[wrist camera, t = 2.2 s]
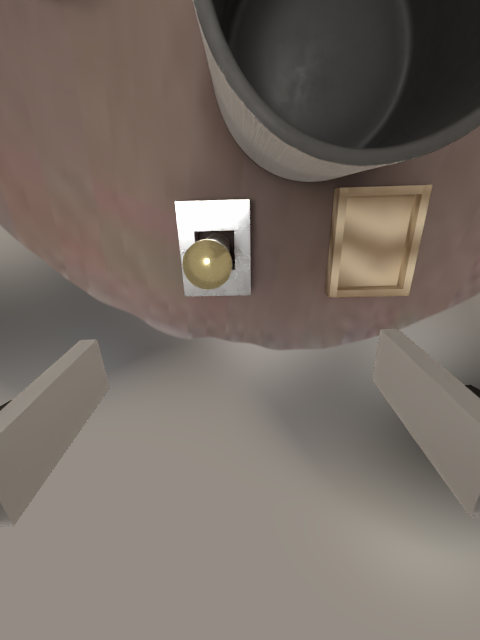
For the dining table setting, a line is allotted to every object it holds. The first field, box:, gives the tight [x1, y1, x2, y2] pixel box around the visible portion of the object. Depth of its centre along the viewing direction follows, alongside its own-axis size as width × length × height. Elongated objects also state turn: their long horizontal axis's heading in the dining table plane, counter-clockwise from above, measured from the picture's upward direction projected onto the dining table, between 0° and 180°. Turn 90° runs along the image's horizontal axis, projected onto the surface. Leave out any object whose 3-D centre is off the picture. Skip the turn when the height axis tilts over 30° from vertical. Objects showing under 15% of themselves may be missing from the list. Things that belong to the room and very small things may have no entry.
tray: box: [325, 185, 432, 297], centre depth 39 cm, size 14×11×2 cm
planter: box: [193, 0, 480, 182], centre depth 23 cm, size 23×23×20 cm
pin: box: [182, 233, 232, 290], centre depth 35 cm, size 5×5×12 cm
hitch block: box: [175, 199, 251, 296], centre depth 38 cm, size 12×9×4 cm
